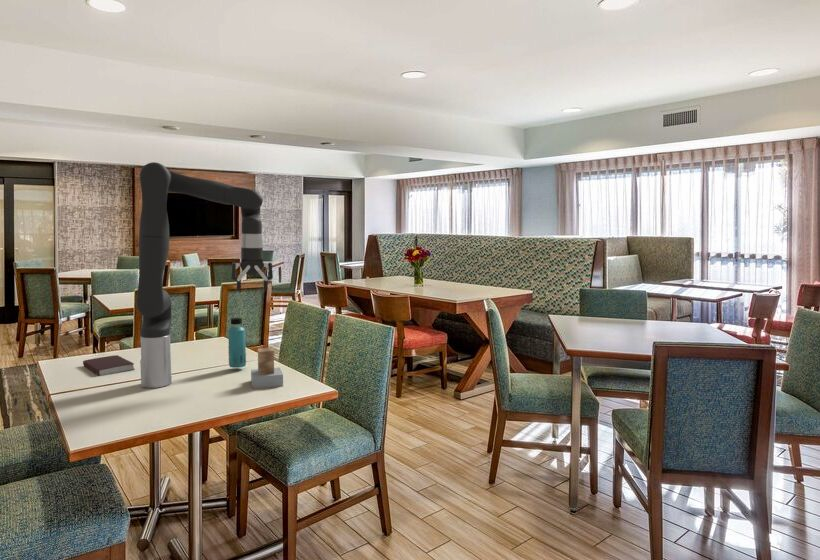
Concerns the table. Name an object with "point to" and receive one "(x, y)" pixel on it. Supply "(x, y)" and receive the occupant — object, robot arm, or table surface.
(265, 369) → the walnut block
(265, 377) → the base plinth
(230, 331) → the beverage bottle
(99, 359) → the book
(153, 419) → the table surface
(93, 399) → the table surface
